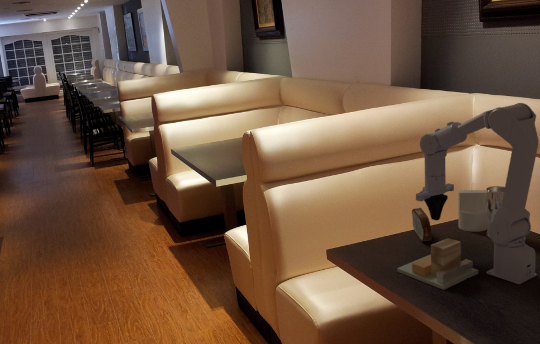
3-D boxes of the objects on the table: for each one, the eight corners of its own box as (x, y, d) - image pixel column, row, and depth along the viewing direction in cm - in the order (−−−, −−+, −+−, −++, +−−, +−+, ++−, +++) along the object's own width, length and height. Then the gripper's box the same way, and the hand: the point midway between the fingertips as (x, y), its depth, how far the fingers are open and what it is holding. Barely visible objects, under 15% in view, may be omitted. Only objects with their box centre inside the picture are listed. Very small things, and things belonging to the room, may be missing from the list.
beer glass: (480, 234, 173) (480, 188, 169) (498, 230, 174) (499, 184, 171) (495, 241, 166) (496, 193, 163) (514, 237, 168) (515, 189, 164)
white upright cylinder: (459, 231, 176) (459, 195, 174) (457, 222, 185) (457, 187, 182) (489, 231, 174) (490, 195, 171) (486, 222, 183) (486, 187, 180)
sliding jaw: (453, 263, 151) (453, 254, 150) (424, 276, 144) (424, 267, 144) (441, 259, 154) (441, 251, 153) (412, 271, 147) (412, 263, 147)
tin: (432, 245, 167) (432, 218, 165) (422, 245, 167) (421, 219, 165) (420, 228, 182) (420, 204, 180) (410, 229, 182) (410, 204, 180)
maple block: (460, 270, 146) (460, 241, 144) (443, 278, 142) (443, 249, 140) (448, 265, 149) (448, 238, 147) (431, 273, 146) (430, 245, 144)
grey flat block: (478, 273, 146) (478, 261, 145) (443, 289, 138) (443, 276, 137) (431, 257, 158) (431, 245, 157) (397, 271, 151) (396, 259, 150)
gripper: (440, 167, 165) (440, 210, 169) (407, 177, 158) (408, 222, 161) (460, 170, 160) (460, 215, 163) (426, 181, 152) (427, 227, 155)
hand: (435, 219), depth 161 cm, fingers closed
